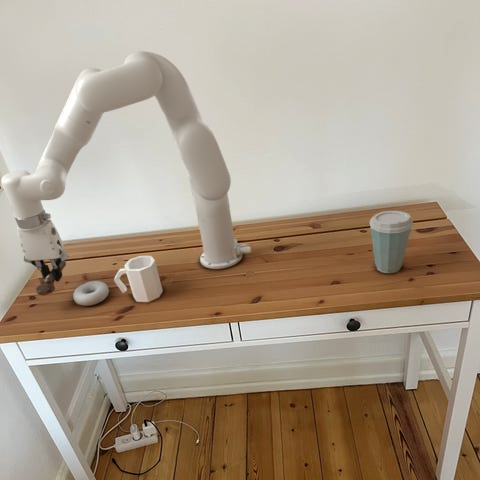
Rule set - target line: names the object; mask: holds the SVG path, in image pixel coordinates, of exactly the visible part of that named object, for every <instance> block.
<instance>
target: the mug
mask: <svg viewBox="0 0 480 480" xmlns="http://www.w3.org/2000/svg"><path fill="white" fill-rule="evenodd" d="M123 266H124V268H119V270H118V271H117V273H116V274H115V276H114V279H113V281H114V283H115V284H116V286H117V287H118V289H119V290H120V292H121V293H122V294H124V293H126V292H127V291H128V287H127V286H126V285H125V284H124V283H123V281H122V280H121V277H122V275H125V274H126V277H127V280H128V283H129V287H130V290H131V294H132V297H133V298H134V300H135V301H136V302H138V303H150V302H153V301H155V300H156V299H159V298H160V296H161V295H162V293H163V287H162V282H161V279H160V275H159V271H158V268H157V263H156V260H155V259H154V258H153V256H152V255H139V256H136V257H133V258H130V259H128V260H127V262H126V263H125V264H124V265H123Z"/></svg>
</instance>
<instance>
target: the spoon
mask: <svg viewBox="0 0 480 480" xmlns="http://www.w3.org/2000/svg"><path fill="white" fill-rule="evenodd" d="M59 266H60V269H61V271H63V270H64V268H65V267H66V266H67V262H66V260H64V261H62V262H61V263H60V265H59ZM55 282H56V280H55V277H54V275H53V272H52V269H51V270H50V273H49V274H48V275H47V277H46V278H45V279H44V280H43V283H40V284H39V285H38V286H36V288H35V292H36V293H37V295H39V296H48V295H50V294H52V293H53V292H55V290H56V286H55Z"/></svg>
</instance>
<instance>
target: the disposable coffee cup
mask: <svg viewBox="0 0 480 480" xmlns="http://www.w3.org/2000/svg"><path fill="white" fill-rule="evenodd" d="M413 220H414V219H413V218H412V216H411V215H410V213H408V212H404V211H399V210H387V211H380V212H378V213H375V214H374V215H372V217H371V218H370V220H369V226H370V233H371V242H372V249H373V258H374V265H375V268H376V269H377V271H379V272H380V273H384V274H394V273H397V272H399V271H400V270H401V267H402V266H403V263H404V258H405V255H406V251H407V246H408V244H409V243H408V241H409V237H410V235H411V230H412V227H413V226H414V221H413Z"/></svg>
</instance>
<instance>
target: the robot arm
mask: <svg viewBox="0 0 480 480" xmlns="http://www.w3.org/2000/svg"><path fill="white" fill-rule="evenodd" d="M153 97H155V99H156V100H157V103H158V105H159V108H160V109H161V111H162V113H163V115H164V118H165V120H166V122H167V124H168V127H169V130H170V133H171V135H172V139H173V142H174V145H175V147H176V149H177V151H178V153H179V155H180V157H181V160H182V161H183V164H184V167H185V169H186V170H187V171H186V172H187V179H188V181H189V186H190V189H191V190H190V191H191V193H192V198H193V202H194V208H195V213H196V219H197V225H198V229H199V234H200V239H201V244H202V249H203V252H202V254H201V255H200V257H199V261H200V264H201V266H203V267H205V268H208V269H210V270H220V269H227V268H230V267H233V266H235V265H237V264H238V263H240V261H241V260H242V258H243V254H244V255H245V254H252V247H251V246H248V245H249V244H248V243H243V244H240V243H238V239H235V233H234V232H235V231H234V226H233V220H232V214H231V207H230V199H229V194H228V192H229V190H230V187H231V183H232V181H231V179H232V178H231V175H230V172H229V169H228V166H227V163H226V161H225V158H224V156H223V153H222V151H221V148H220V146H219V143H218V141H217V138H216V136H215V134H214V132H213V130H212V129H211V128H210V126H209V125H208V123H207V122H206V121H205V120H204V118H203V116H202V114H201V112H200V109H199V107H198V104H197V102H196V100H195V97H194V95H193V93H192V90H191V89H190V87H189V84H188V83H187V81H186V78H185V77H184V75H183V74H182V72H181V71H180V70H179V69H178V67H177V66H175V64H174V63H173V62H171V61H170V60H169V59H168V58H166V57H164V56H162V55H161V54H158V53H156V52H151V51H145V50H140V51H135V52H131V53H130V54H129V55H127V57H126V58H125V60H124V62H123V63H122V64H120V65H117V66H114V67H109V68H107V69H103V70H102V69H100V68H96V67H87V68H85V69H84V70H82V71H81V72H80V73H79V75H78V76H77V78H76V80H75V82H74V84H73V86H72V88H71V91H70V93H69V95H68V98H67V100H66V102H65V104H64V106H63V108H62V110H61V113H60V114H59V117H58V119H57V121H56V123H55V125H54V128H53V132H52V135H51V136H50V138H49V141H48V143H47V145H46V147H45V149H44V151H43V153H42V155H41V158H40V159H39V162H38V164H37V166H36V169H35V172H34V173H30V172H29V170H28V171H27V170H22V169H21V170H14V171H11V172H8V173H6V174H4V175H3V176H2V177H1V180H0V182H1V183H0V184H1V186H2V189H3V191H4V194H5V196H6V199H7V202H8V204H9V206H10V209H11V212H12V214H13V218H14V219H15V222H16V225H17V226H16V233H17V238H18V242H19V245H20V248H21V252H22V254H23V261H24V262H25V263H28V264H31V265H32V266H34V267H35V268H37V270H38V271H40V273H41V276H42V278H43V279H44V280H45V278H46V277H47V275H48V274H49V273H50V271H51V270H52V272H53V275H54V277H55V282H60V281H61V279H62V278H63V272H62V271H63V270H62V271H61V269H60V266H59V265H60V263H61V262H62V261H66V260H67V259H68V258H69V253H67V251H66V250H65V245H64V243H63V240H62V238H61V236H60V233H59V231H58V229H57V228H56V226H55V224H54V223H53V221H52V219H51V218H52V216H51V213H47V212H46V210H45V209H44V206H43V203H42V201H53V200H57V199H59V198H61V197H62V196H63V195H64V193H65V190H66V180H67V177H68V173H69V172H70V170H71V168H72V165H73V164H74V162H75V160H76V158H77V156H78V154H79V153H80V151H81V150H82V149H83V148H84V147H86V146H87V145H88V144H89V143H90V141H91V139H92V138H93V135H94V134H95V132H96V129H97V128H98V125H99V123H100V121H101V119H102V117H103V115H104V114H105V113H108V112H111V111H112V112H113V111H115V110H119V109H122V108H126V107H128V106H131V105H134V104H138V103H141V102H144V101H147V100H149V99H151V98H153ZM45 260H47V261H48V260H49V262H50V264H51V267H52V268H51V270H50V267H49V265H48V264H46V261H45Z"/></svg>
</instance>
